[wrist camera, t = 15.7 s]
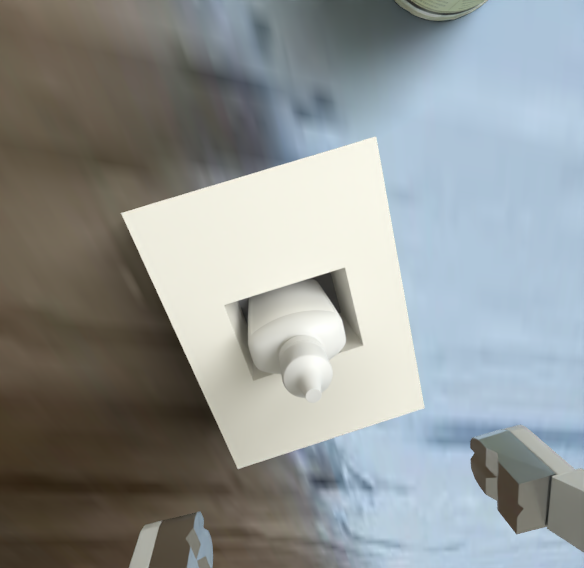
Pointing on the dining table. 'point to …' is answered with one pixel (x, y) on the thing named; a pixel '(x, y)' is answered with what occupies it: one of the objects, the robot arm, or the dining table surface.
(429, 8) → the coffee can
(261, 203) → the holder block
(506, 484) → the robot arm
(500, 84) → the dining table surface
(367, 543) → the dining table surface
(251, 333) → the white plastic bottle
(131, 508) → the dining table surface
